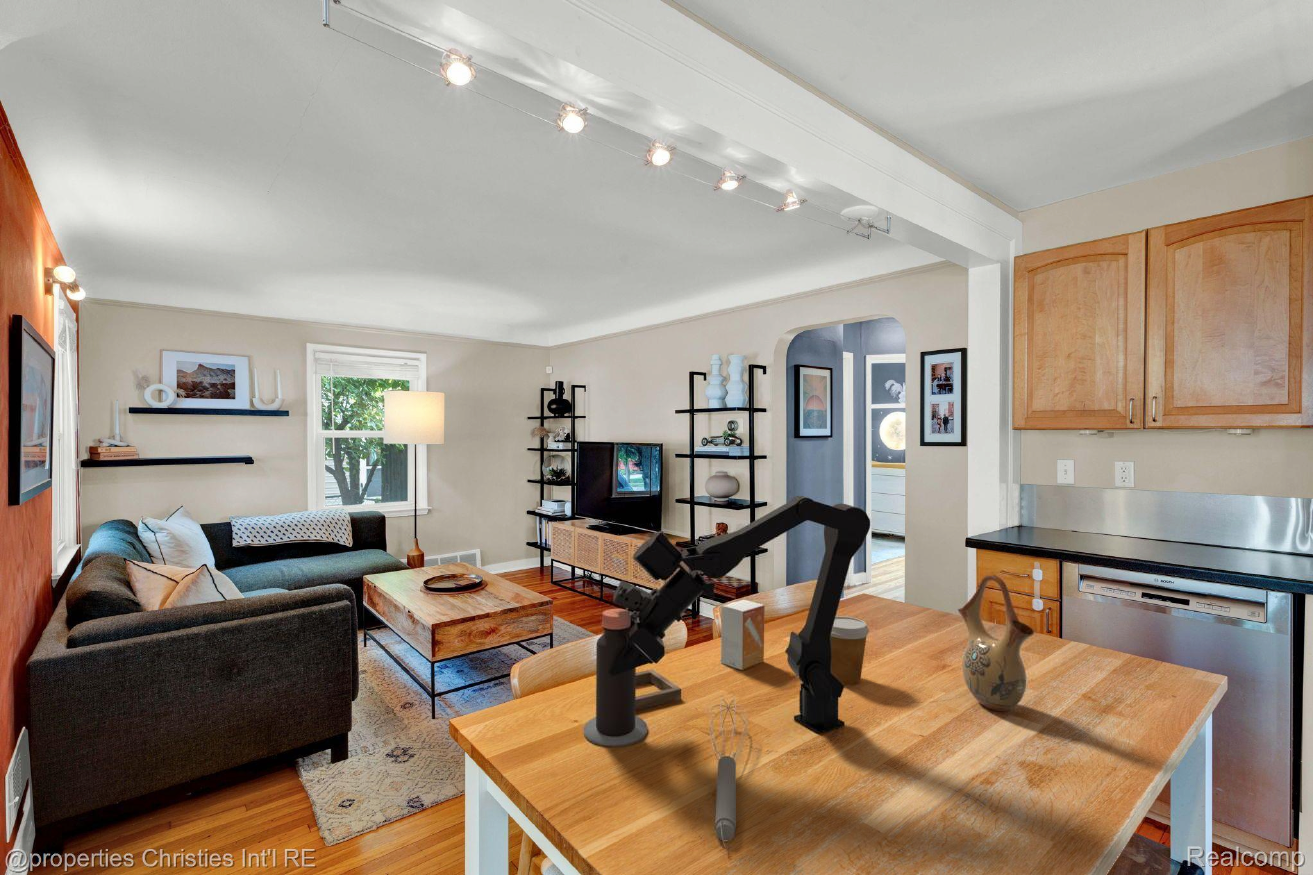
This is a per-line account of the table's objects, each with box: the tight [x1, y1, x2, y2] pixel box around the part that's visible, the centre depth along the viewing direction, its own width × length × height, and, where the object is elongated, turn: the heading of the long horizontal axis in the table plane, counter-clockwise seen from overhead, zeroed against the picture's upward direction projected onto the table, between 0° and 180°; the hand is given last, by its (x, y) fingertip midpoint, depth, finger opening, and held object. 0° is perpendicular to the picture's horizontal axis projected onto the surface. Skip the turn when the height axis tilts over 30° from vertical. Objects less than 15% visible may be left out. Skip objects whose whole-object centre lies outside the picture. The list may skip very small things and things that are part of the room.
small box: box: [720, 599, 766, 671], centre depth 140 cm, size 8×6×13 cm
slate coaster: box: [583, 715, 648, 748], centre depth 108 cm, size 11×11×1 cm
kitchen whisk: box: [709, 698, 747, 850], centre depth 93 cm, size 6×34×6 cm, turn 173°
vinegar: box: [595, 608, 637, 736], centre depth 107 cm, size 7×7×20 cm
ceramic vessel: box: [957, 574, 1035, 712], centre depth 118 cm, size 16×9×25 cm, turn 17°
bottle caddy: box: [635, 668, 682, 711], centre depth 123 cm, size 11×11×2 cm
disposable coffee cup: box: [831, 615, 870, 686], centre depth 131 cm, size 10×10×12 cm
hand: (609, 663), depth 108 cm, fingers open, 9 cm apart
